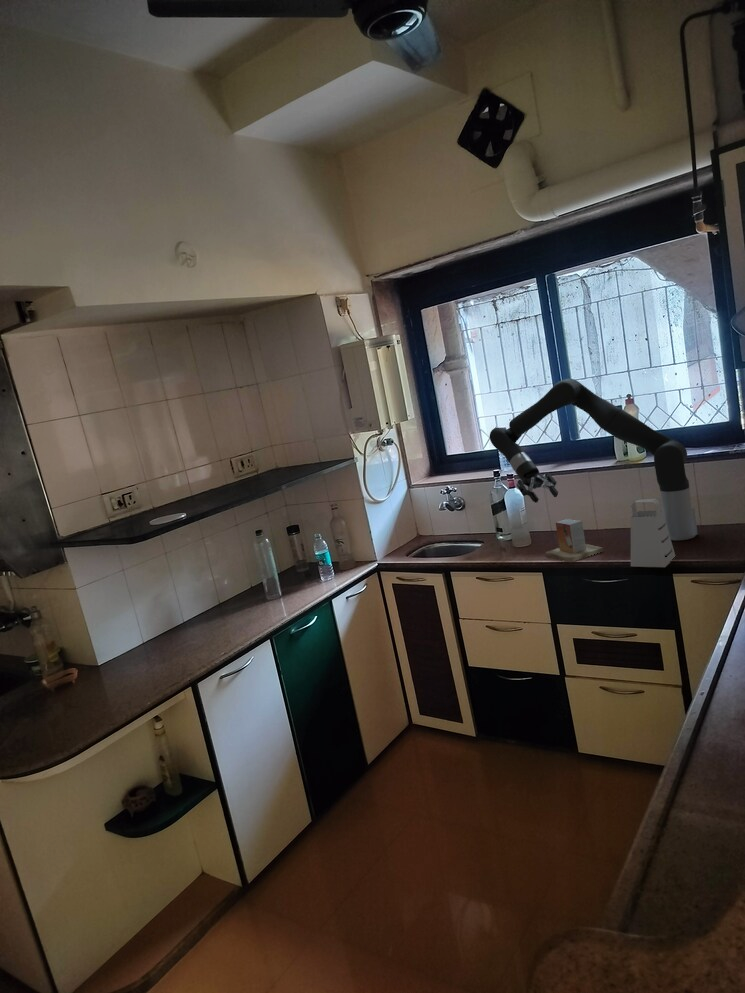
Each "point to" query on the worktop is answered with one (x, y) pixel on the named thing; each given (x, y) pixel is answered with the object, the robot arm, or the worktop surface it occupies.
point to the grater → (650, 538)
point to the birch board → (574, 556)
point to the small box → (570, 535)
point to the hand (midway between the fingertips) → (547, 498)
